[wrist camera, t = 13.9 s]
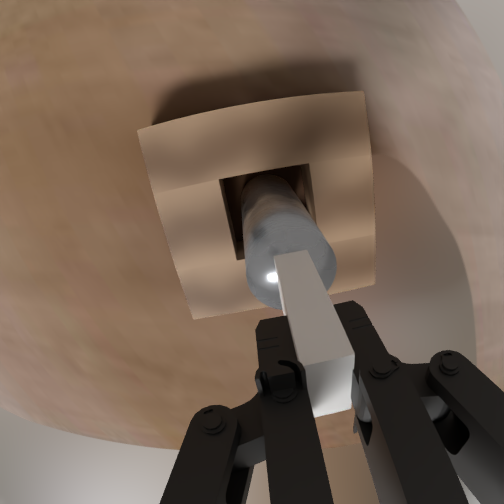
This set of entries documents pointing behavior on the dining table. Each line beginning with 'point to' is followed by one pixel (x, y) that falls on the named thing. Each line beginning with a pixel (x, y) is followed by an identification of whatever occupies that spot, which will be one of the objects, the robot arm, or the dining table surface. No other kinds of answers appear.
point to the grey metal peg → (279, 236)
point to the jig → (254, 160)
